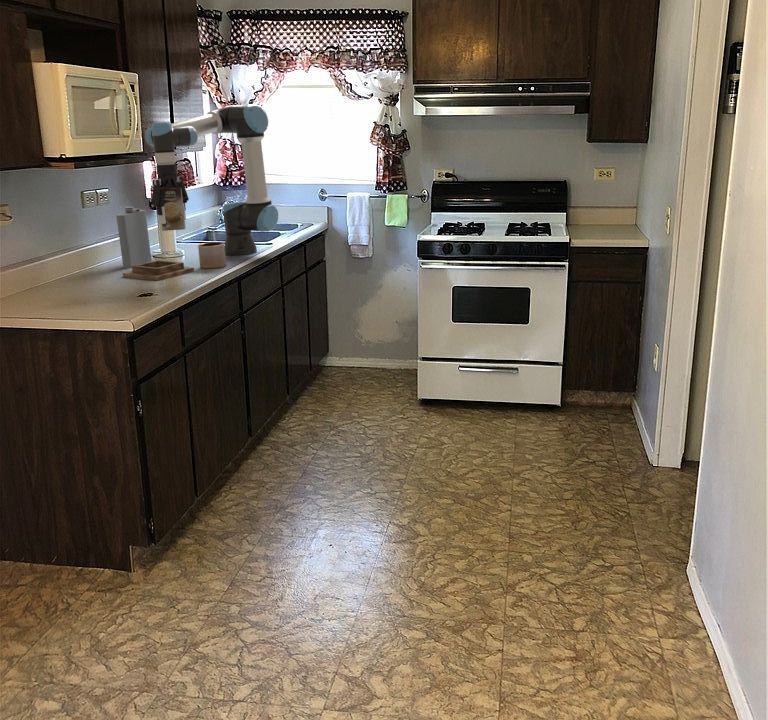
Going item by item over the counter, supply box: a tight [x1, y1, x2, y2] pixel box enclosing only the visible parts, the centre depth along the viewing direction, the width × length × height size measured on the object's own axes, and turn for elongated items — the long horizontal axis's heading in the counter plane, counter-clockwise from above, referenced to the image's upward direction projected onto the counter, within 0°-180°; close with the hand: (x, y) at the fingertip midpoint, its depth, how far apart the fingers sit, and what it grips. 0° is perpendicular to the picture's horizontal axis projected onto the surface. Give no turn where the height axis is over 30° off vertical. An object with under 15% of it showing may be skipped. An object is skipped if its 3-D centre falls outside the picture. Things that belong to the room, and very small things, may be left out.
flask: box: [115, 206, 152, 269], centre depth 347 cm, size 17×5×25 cm, turn 161°
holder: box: [122, 259, 195, 282], centre depth 326 cm, size 20×20×4 cm
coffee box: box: [160, 187, 186, 232], centre depth 315 cm, size 9×6×16 cm
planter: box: [197, 241, 227, 270], centre depth 337 cm, size 11×11×10 cm
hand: (173, 221), depth 316 cm, fingers closed on coffee box, 10 cm apart
